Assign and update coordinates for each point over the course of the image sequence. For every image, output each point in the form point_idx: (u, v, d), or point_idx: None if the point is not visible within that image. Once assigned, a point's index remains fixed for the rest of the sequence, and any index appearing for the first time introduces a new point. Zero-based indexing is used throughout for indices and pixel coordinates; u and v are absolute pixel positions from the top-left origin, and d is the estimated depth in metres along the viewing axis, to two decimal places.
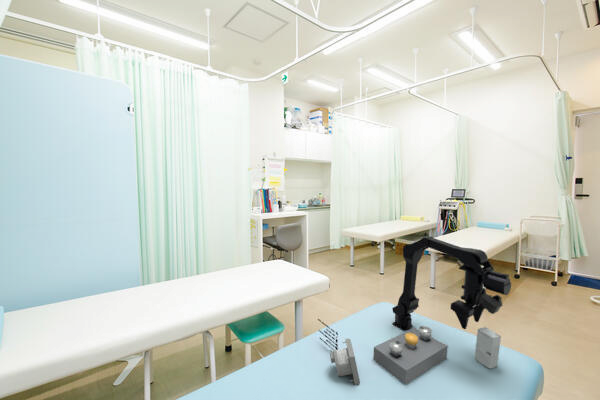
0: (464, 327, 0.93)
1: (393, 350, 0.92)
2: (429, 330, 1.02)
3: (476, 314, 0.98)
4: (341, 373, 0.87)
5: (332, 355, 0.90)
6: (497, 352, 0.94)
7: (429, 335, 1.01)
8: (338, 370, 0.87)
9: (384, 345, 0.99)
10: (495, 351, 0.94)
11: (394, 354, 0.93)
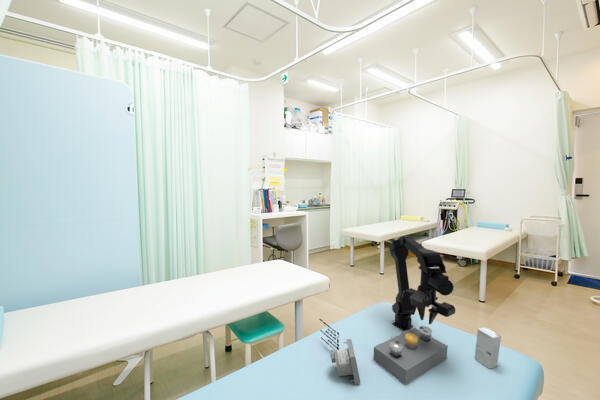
0: None
1: (393, 350, 0.92)
2: (429, 330, 1.02)
3: None
4: (342, 373, 0.87)
5: (333, 355, 0.90)
6: (497, 352, 0.94)
7: (429, 335, 1.01)
8: (339, 370, 0.87)
9: (384, 345, 0.99)
10: (495, 351, 0.94)
11: (394, 354, 0.93)
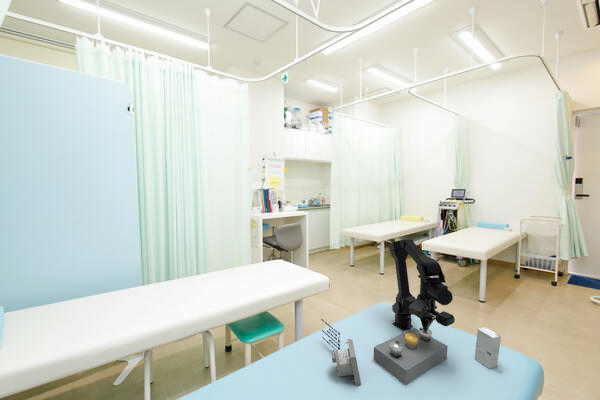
0: None
1: (393, 350, 0.92)
2: (429, 331, 1.02)
3: None
4: (342, 373, 0.87)
5: (333, 355, 0.90)
6: (497, 352, 0.94)
7: (429, 336, 1.01)
8: (339, 370, 0.87)
9: (384, 345, 0.99)
10: (495, 351, 0.94)
11: (394, 354, 0.93)
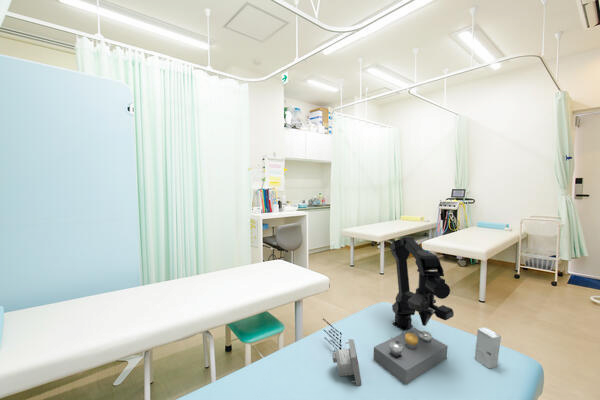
0: None
1: (393, 350, 0.92)
2: (429, 335, 1.02)
3: None
4: (343, 373, 0.87)
5: (334, 355, 0.90)
6: (497, 352, 0.94)
7: (429, 340, 1.01)
8: (340, 370, 0.87)
9: (384, 345, 0.99)
10: (495, 351, 0.94)
11: (394, 354, 0.93)
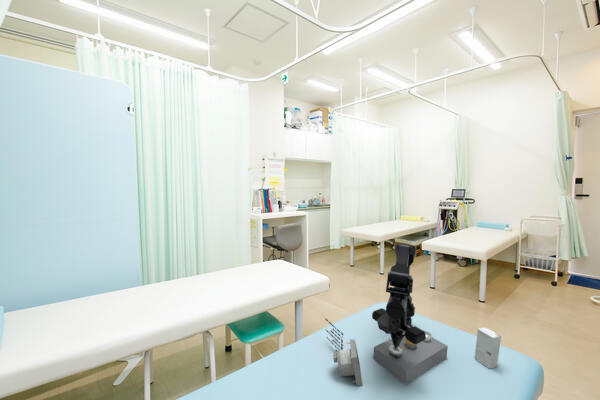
0: None
1: (393, 353, 0.92)
2: (429, 335, 1.02)
3: None
4: (343, 373, 0.87)
5: (335, 355, 0.91)
6: (497, 352, 0.94)
7: (429, 340, 1.01)
8: (340, 370, 0.87)
9: (384, 345, 0.99)
10: (495, 351, 0.94)
11: None
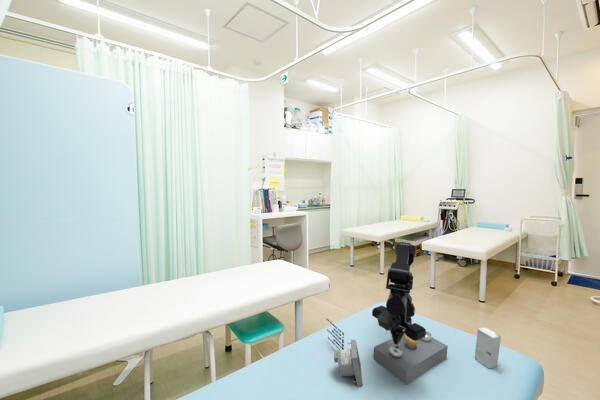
0: None
1: (393, 355, 0.92)
2: (429, 335, 1.02)
3: None
4: (344, 373, 0.87)
5: (336, 355, 0.91)
6: (497, 352, 0.94)
7: (429, 340, 1.01)
8: (341, 370, 0.87)
9: (384, 345, 0.99)
10: (495, 351, 0.94)
11: None
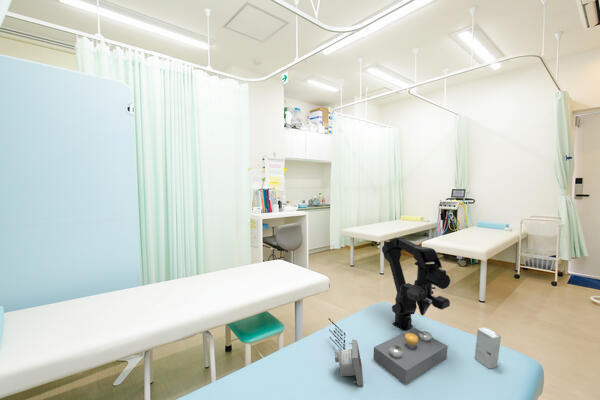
0: None
1: (393, 355, 0.92)
2: (429, 335, 1.02)
3: None
4: (344, 373, 0.87)
5: (337, 354, 0.91)
6: (497, 352, 0.94)
7: (429, 340, 1.01)
8: (341, 370, 0.87)
9: (384, 345, 0.99)
10: (495, 351, 0.94)
11: None
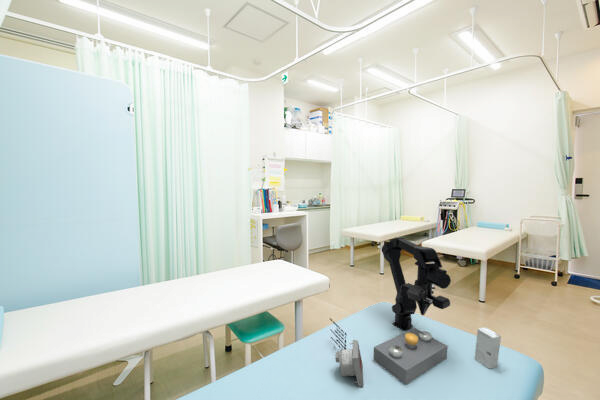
0: None
1: (393, 355, 0.92)
2: (429, 335, 1.02)
3: None
4: (345, 373, 0.87)
5: (337, 354, 0.91)
6: (497, 352, 0.94)
7: (429, 340, 1.01)
8: (342, 370, 0.87)
9: (384, 345, 0.99)
10: (495, 351, 0.94)
11: None
